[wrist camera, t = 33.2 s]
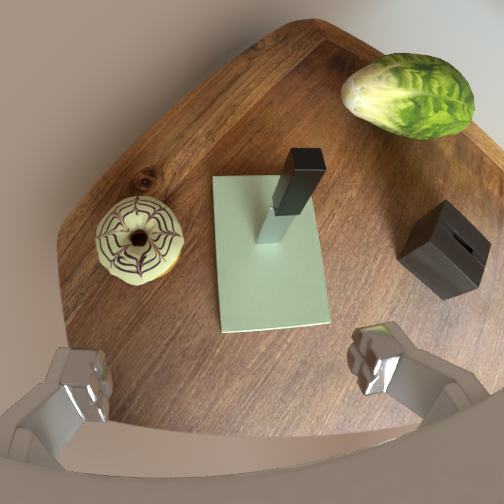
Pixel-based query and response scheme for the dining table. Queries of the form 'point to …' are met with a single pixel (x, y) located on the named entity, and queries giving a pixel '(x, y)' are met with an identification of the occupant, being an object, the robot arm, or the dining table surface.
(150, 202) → the decorated donut
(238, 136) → the dining table surface
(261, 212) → the cutting board
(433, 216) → the knife block
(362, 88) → the lettuce
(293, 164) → the knife
